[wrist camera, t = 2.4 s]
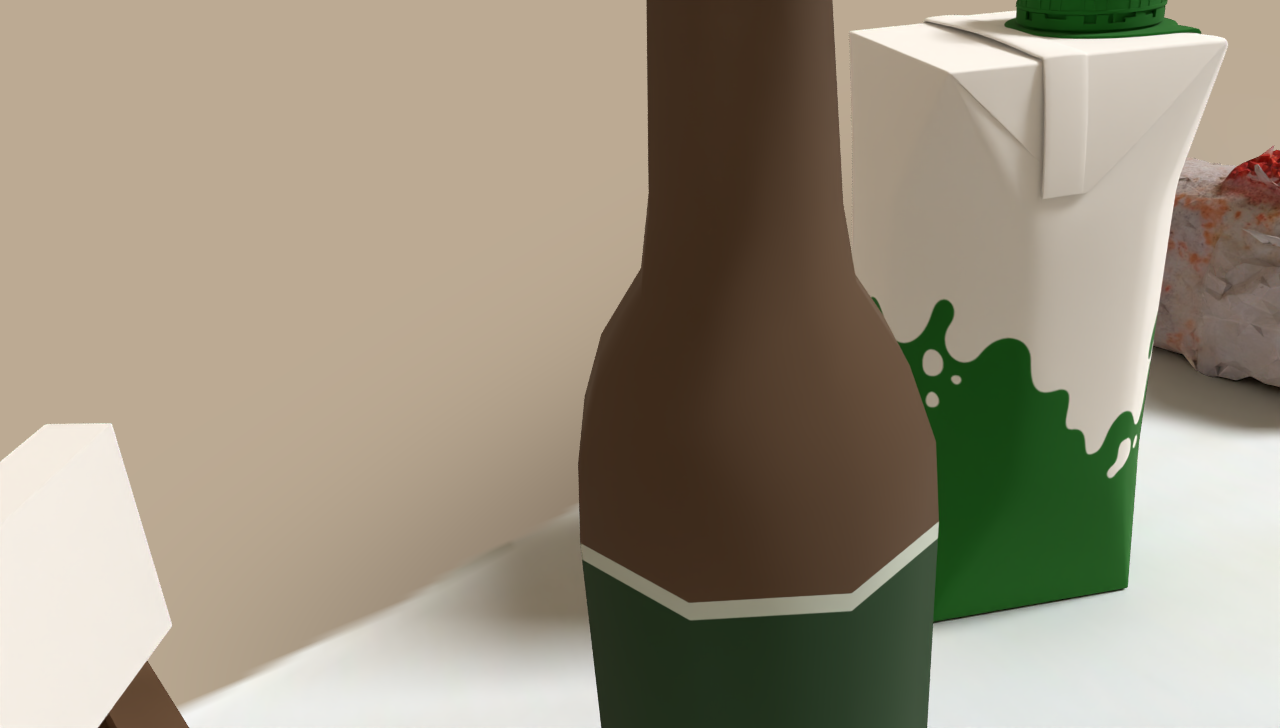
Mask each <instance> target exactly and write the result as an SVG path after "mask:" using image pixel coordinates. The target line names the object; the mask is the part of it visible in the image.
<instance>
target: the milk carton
mask: <svg viewBox="0 0 1280 728" xmlns="http://www.w3.org/2000/svg"><path fill="white" fill-rule="evenodd" d="M1166 4H1167V0H1017V2H1016V7H1017V11H1008V12H998V13H988V14H977V15H967V16H961V15H947V16H937V17H929V18H926V19H925V20H924V23H923V24H914V25H904V26H894V27H884V28H875V29H865V30H857V31H849V45H850V79H851V116H852V117H851V118H852V258H853V264H854V270H855V275H856V276H857V277H858V279H859V280H860V282H861V283H862V285H863V286H864V288H865V289H866V291H867V292H868V294H869V295H870V297H871V298H872V299H873V301H874V302H875V304H876V305H877V307H878V308H879V310H880V311H881V313H882V314H883V316H884V318H885V319H886V321H887V323H888V325H889V327H890V329H891V331H892V333H893V335H894V337H895V339H896V340H897V342H898V344H899V346H900V348H901V350H902V352H903V354H904V356H905V358H906V360H907V361H908V363H909V365H910V368H911V371H912V374H913V377H914V379H915V382H916V385H917V388H918V391H919V394H920V397H921V400H922V403H923V406H924V408H925V411H926V414H927V417H928V420H929V423H930V426H931V429H932V432H933V435H934V437H935V440H936V457H937V485H938V512H939V528H938V545H937V562H936V580H935V597H934V614H933V622H934V621H940V620H946V619H952V618H957V617H963V616H969V615H974V614H980V613H986V612H992V611H997V610H1003V609H1009V608H1014V607H1020V606H1026V605H1032V604H1037V603H1043V602H1049V601H1054V600H1060V599H1066V598H1072V597H1077V596H1083V595H1089V594H1094V593H1100V592H1106V591H1112V590H1117V589H1123V588H1127V587H1128V576H1129V563H1130V550H1131V537H1132V524H1133V511H1134V498H1135V486H1136V472H1137V459H1138V448H1139V439H1140V431H1141V424H1142V417H1143V410H1144V403H1145V396H1146V390H1147V383H1148V376H1149V369H1150V362H1151V355H1152V348H1153V341H1154V334H1155V328H1156V321H1157V314H1158V307H1159V300H1160V294H1161V287H1162V280H1163V273H1164V266H1165V260H1166V253H1167V246H1168V239H1169V232H1170V226H1171V219H1172V213H1173V206H1174V200H1175V194H1176V189H1177V185H1178V181H1179V177H1180V174H1181V171H1182V169H1183V166H1184V163H1185V160H1186V157H1187V155H1188V152H1189V149H1190V147H1191V143H1192V141H1193V139H1194V136H1195V133H1196V130H1197V128H1198V125H1199V122H1200V120H1201V117H1202V114H1203V112H1204V109H1205V106H1206V103H1207V101H1208V98H1209V96H1210V93H1211V90H1212V88H1213V85H1214V82H1215V80H1216V77H1217V74H1218V72H1219V69H1220V66H1221V63H1222V61H1223V58H1224V55H1225V53H1226V50H1227V47H1228V43H1227V40H1226V39H1224V38H1221V37H1217V36H1211V35H1203V34H1201V31H1200V30H1199V29H1196V28H1192V27H1187V26H1181V25H1178V24H1177V23H1176V21H1174V20H1171V19H1168V18H1164V14H1165V5H1166Z"/></svg>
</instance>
